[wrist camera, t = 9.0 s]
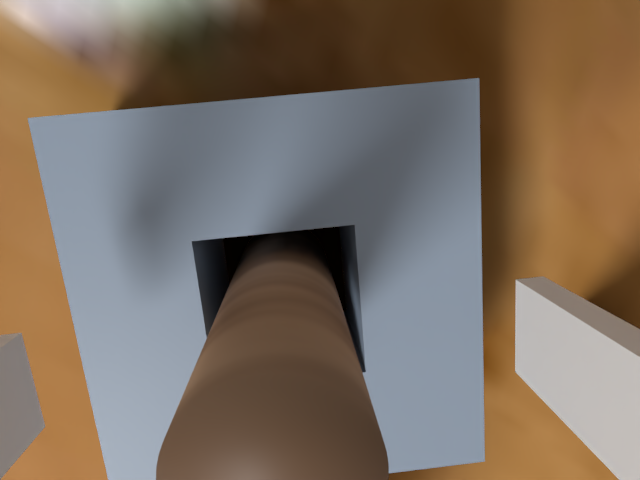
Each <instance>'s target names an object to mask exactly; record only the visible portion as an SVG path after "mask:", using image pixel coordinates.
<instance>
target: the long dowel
mask: <svg viewBox="0 0 640 480" xmlns="http://www.w3.org/2000/svg"><path fill="white" fill-rule="evenodd" d="M388 478H389V463H388V456H387V451H386V447H385V444H384V441H383V437H382V434H381V431H380V428H379V425H378V421H377V418H376V415H375V412H374V408H373V405H372V402H371V399H370V396H369V392H368V389H367V386H366V383H365V379H364V376H363V373H362V370H361V367H360V363H359V360H358V357H357V354H356V350H355V347H354V344H353V341H352V338H351V334H350V331H349V328H348V325H347V321H346V318H345V315H344V312H343V309H342V305H341V302H340V299H339V296H338V292H337V289H336V286H335V283H334V280H333V276H332V273H331V270H330V267H329V263H328V260H327V257H326V254H325V251H324V248H323V246H322V244H321V242H320V241H319V239H318V238H317V237H316V236H315V235H314V234H313V233H312V232H310V231H309V230H298V231H288V232H278V233H268V234H259V235H254V236H253V237H252V238H251V239H250V240H249V242H248V243H247V245H246V247H245V249H244V252H243V254H242V256H241V259H240V261H239V264H238V266H237V268H236V271H235V273H234V275H233V278H232V280H231V282H230V285H229V287H228V289H227V292H226V294H225V297H224V299H223V301H222V304H221V306H220V308H219V311H218V313H217V315H216V318H215V320H214V323H213V325H212V327H211V330H210V332H209V334H208V337H207V339H206V341H205V344H204V346H203V348H202V351H201V353H200V356H199V358H198V360H197V363H196V365H195V367H194V370H193V372H192V374H191V377H190V379H189V382H188V384H187V386H186V389H185V391H184V393H183V396H182V398H181V400H180V403H179V405H178V407H177V410H176V412H175V415H174V417H173V419H172V422H171V424H170V426H169V429H168V431H167V433H166V436H165V438H164V441H163V443H162V446H161V449H160V452H159V456H158V461H157V466H156V480H388Z"/></svg>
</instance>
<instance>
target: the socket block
mask: <svg viewBox="0 0 640 480" xmlns="http://www.w3.org/2000/svg"><path fill="white" fill-rule="evenodd" d="M28 122H29V126H30V131H31V135H32V140H33V144H34V149H35V153H36V158H37V162H38V167H39V171H40V176H41V180H42V185H43V189H44V194H45V198H46V203H47V207H48V212H49V216H50V221H51V225H52V230H53V234H54V239H55V243H56V248H57V252H58V257H59V261H60V266H61V270H62V274H63V279H64V283H65V288H66V292H67V297H68V301H69V306H70V310H71V315H72V319H73V324H74V328H75V333H76V337H77V342H78V346H79V351H80V355H81V360H82V364H83V369H84V373H85V378H86V382H87V387H88V391H89V396H90V400H91V405H92V409H93V414H94V418H95V423H96V427H97V431H98V436H99V440H100V445H101V449H102V454H103V458H104V463H105V467H106V472H107V476H108V480H156V466H157V461H158V456H159V452H160V449H161V446H162V443H163V441H164V438H165V436H166V433H167V431H168V429H169V426H170V424H171V422H172V419H173V417H174V415H175V412H176V410H177V407H178V405H179V403H180V400H181V398H182V396H183V393H184V391H185V389H186V386H187V384H188V382H189V379H190V377H191V374H192V372H193V370H194V367H195V365H196V363H197V360H198V358H199V356H200V353H201V351H202V348H203V346H204V344H205V341H206V339H207V337H208V334H209V332H210V330H211V327H212V325H213V323H214V320H215V318H216V315H217V313H218V311H219V308H220V306H221V304H222V301H223V299H224V297H225V294H226V292H227V289H228V287H229V277H228V270H227V263H226V256H225V249H224V242H223V238H229V237H239V236H249V235H259V234H268V233H278V232H288V231H298V230H308V229H318V228H328V227H337V226H339V233H340V245H341V257H342V269H343V281H344V293H345V305H346V311H344V315H345V318H346V321H347V325H348V328H349V331H350V334H351V338H352V341H353V344H354V347H355V350H356V354H357V357H358V360H359V363H360V367H361V370H362V373H363V376H364V379H365V383H366V386H367V389H368V392H369V396H370V399H371V402H372V405H373V408H374V412H375V415H376V418H377V421H378V425H379V428H380V431H381V434H382V437H383V441H384V444H385V447H386V451H387V456H388V463H389V473H396V472H404V471H412V470H420V469H428V468H436V467H444V466H452V465H460V464H468V463H476V462H484V461H485V447H484V375H483V303H482V231H481V159H480V87H479V78H474V79H463V80H451V81H440V82H429V83H417V84H406V85H395V86H384V87H372V88H361V89H350V90H339V91H327V92H316V93H305V94H294V95H282V96H271V97H260V98H249V99H237V100H226V101H215V102H203V103H192V104H181V105H170V106H158V107H147V108H136V109H125V110H113V111H102V112H91V113H80V114H68V115H57V116H46V117H35V118H28Z"/></svg>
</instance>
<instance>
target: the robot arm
mask: <svg viewBox="0 0 640 480" xmlns="http://www.w3.org/2000/svg"><path fill="white" fill-rule="evenodd" d="M515 372H516V373H517V374H518V375H519V376H520V377H521V378H522V379H523V380H524V381H525V382H526V383H527V384H528V385H529V386H530V388H531V389H532V390H533V391H534V392H535V393H536V394H537V395H538V396H539V397H540V398H541V399H542V400H543V401H544V402H545V403H546V404H547V405H548V406H549V407H550V408H551V409H552V410H553V411H554V412H555V413H556V415H557V416H558V417H559V418H560V419H561V420H562V421H563V422H564V423H565V424H566V425H567V426H568V427H569V428H570V429H571V430H572V431H573V432H574V433H575V434H576V435H577V436H578V437H579V438H580V439H581V440H582V442H583V443H584V444H585V445H586V446H587V447H588V448H589V449H590V450H591V451H592V452H593V453H594V454H595V455H596V456H597V457H598V458H599V459H600V460H601V461H602V462H603V463H604V464H605V465H606V466H607V467H608V469H609V470H610V471H611V472H612V473H613V474H614V475H615V476H616V477H617V478H618V479H619V480H640V329H638V328H636V327H635V326H633V325H631V324H629V323H627V322H625V321H624V320H622V319H620V318H618V317H616V316H615V315H613V314H611V313H609V312H607V311H605V310H604V309H602V308H600V307H598V306H596V305H594V304H593V303H591V302H589V301H587V300H585V299H583V298H582V297H580V296H578V295H576V294H574V293H572V292H571V291H569V290H567V289H565V288H563V287H561V286H560V285H558V284H556V283H554V282H552V281H551V280H549V279H547V278H545V277H534V278H525V279H516V323H515ZM44 427H45V424H44V420H43V416H42V412H41V408H40V404H39V400H38V396H37V392H36V388H35V384H34V380H33V376H32V372H31V369H30V365H29V361H28V357H27V353H26V349H25V345H24V341H23V337H22V333H16V334H7V335H0V479H1V478H2V477H3V476H4V474H5V473H6V472H7V471H8V470H9V469H10V467H11V466H12V465H13V464H14V463H15V462H16V460H17V459H18V458H19V457H20V456H21V454H22V453H23V452H24V451H25V450H26V449H27V447H28V446H29V445H30V444H31V443H32V442H33V440H34V439H35V438H36V437H37V436H38V434H39V433H40V432H41V431H42V430H43V429H44Z"/></svg>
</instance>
